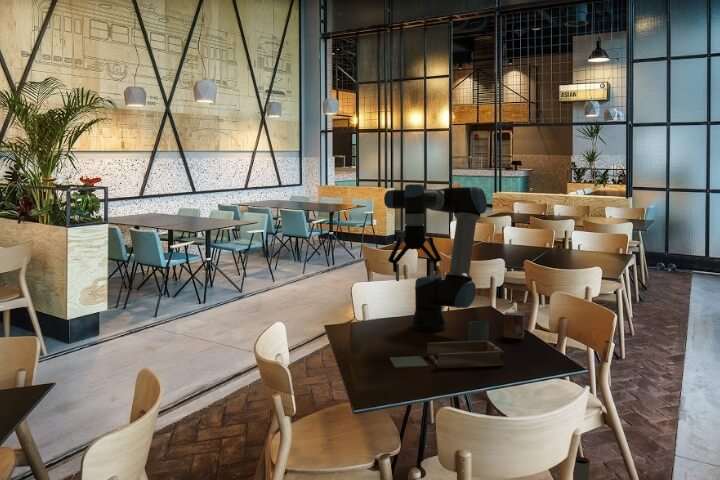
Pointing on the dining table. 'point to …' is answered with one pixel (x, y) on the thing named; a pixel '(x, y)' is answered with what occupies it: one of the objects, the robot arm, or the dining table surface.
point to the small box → (514, 325)
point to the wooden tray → (465, 354)
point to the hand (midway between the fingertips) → (414, 280)
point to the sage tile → (408, 361)
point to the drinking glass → (581, 468)
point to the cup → (478, 330)
